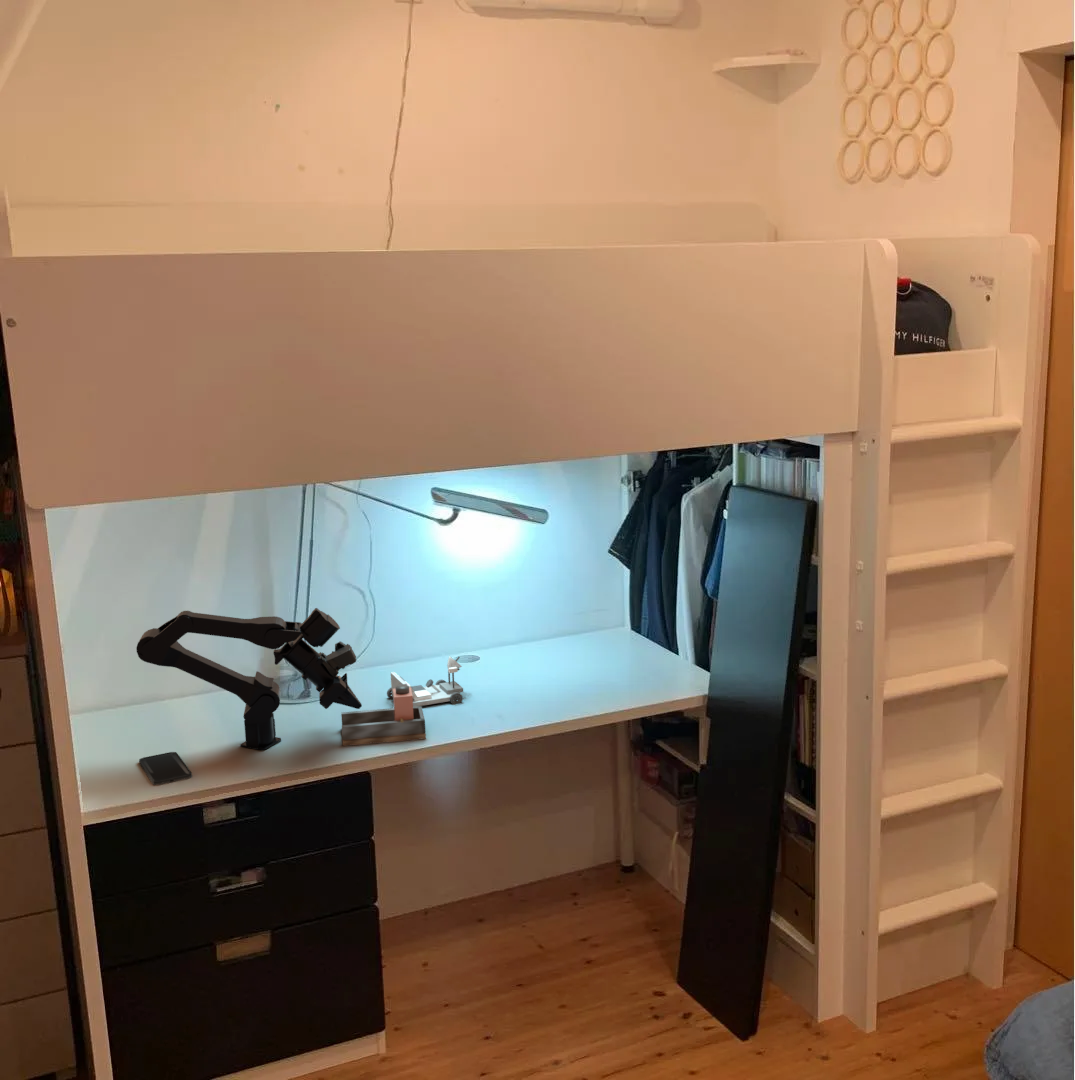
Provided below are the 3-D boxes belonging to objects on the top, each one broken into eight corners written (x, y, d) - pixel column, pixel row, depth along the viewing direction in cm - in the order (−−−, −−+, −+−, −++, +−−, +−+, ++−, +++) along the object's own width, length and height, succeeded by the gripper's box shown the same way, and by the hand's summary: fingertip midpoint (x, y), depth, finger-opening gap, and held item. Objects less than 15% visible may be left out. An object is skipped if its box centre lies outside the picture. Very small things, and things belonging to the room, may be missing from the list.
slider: (395, 731, 254) (393, 692, 252) (394, 722, 260) (392, 683, 258) (414, 730, 255) (412, 690, 253) (412, 721, 261) (410, 682, 259)
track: (342, 745, 250) (341, 726, 249) (342, 728, 261) (341, 709, 260) (425, 738, 253) (425, 719, 252) (421, 721, 264) (421, 703, 263)
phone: (175, 751, 248) (192, 774, 235) (175, 756, 248) (193, 779, 235) (137, 758, 244) (152, 782, 231) (137, 763, 244) (153, 787, 231)
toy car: (455, 650, 286) (471, 663, 275) (456, 688, 288) (473, 702, 277) (385, 660, 279) (399, 674, 268) (387, 699, 280) (401, 714, 270)
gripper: (333, 647, 242) (388, 694, 246) (333, 623, 260) (383, 668, 264) (296, 685, 242) (351, 731, 246) (298, 659, 260) (349, 703, 264)
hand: (360, 707), depth 255 cm, fingers closed
